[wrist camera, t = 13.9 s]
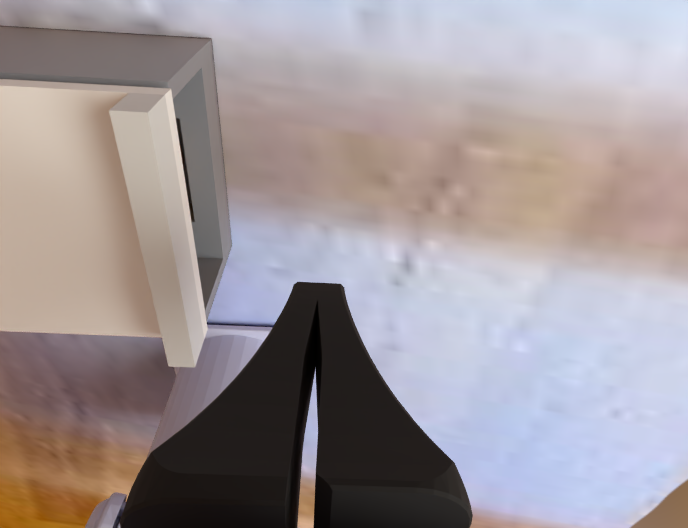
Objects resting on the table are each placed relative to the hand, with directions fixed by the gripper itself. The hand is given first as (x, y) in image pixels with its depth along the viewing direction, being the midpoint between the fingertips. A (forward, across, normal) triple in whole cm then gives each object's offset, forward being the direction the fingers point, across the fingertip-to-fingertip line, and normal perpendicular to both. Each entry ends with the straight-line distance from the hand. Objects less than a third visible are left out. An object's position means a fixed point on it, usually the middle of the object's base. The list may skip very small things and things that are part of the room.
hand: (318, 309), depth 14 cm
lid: (+4, +12, 0) cm, 12 cm away
